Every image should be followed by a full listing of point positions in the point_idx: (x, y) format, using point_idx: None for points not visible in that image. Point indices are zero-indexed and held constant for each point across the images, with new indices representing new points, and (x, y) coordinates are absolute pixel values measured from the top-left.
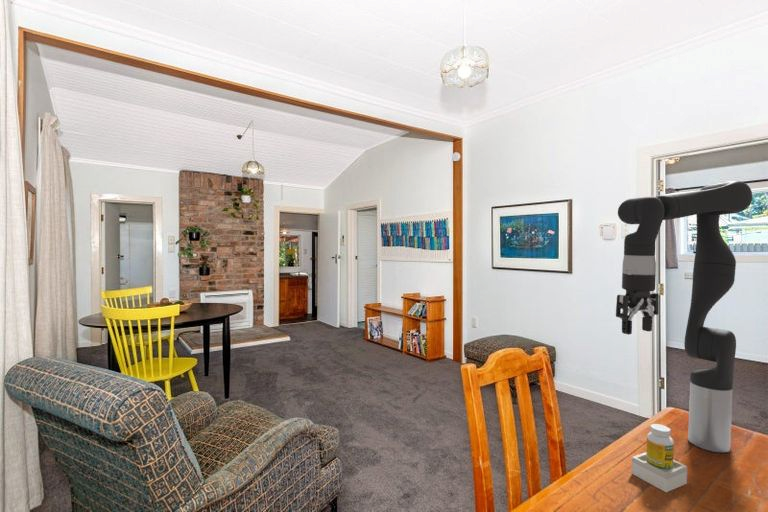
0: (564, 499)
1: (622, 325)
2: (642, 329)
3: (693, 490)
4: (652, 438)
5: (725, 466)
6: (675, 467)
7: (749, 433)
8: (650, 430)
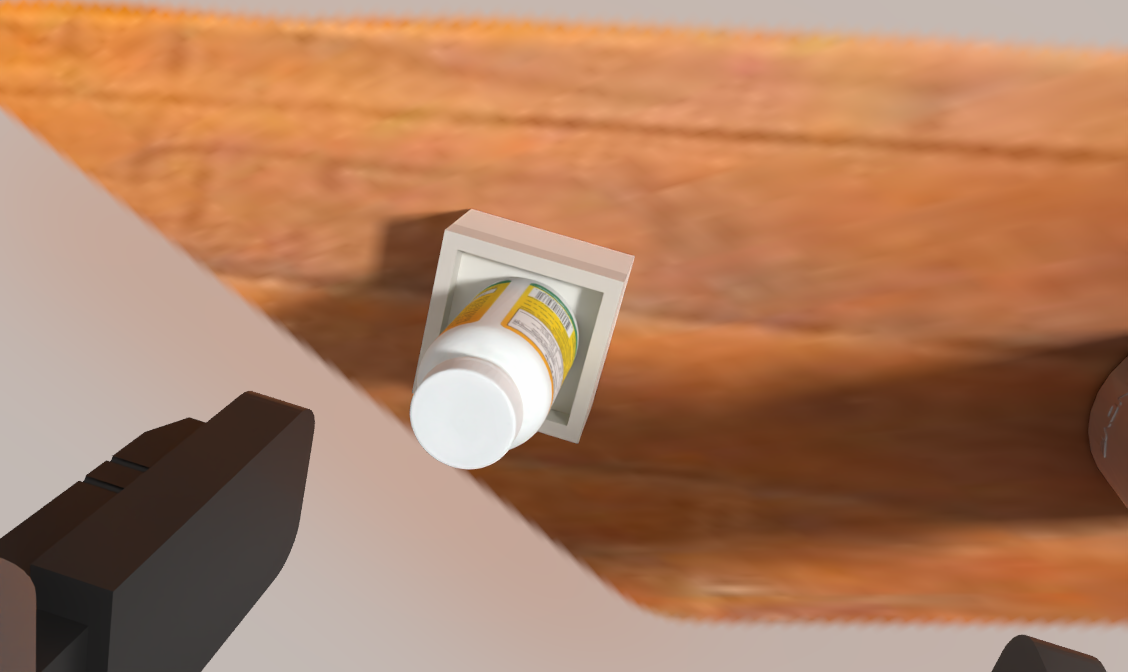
0: (19, 78)
1: (74, 500)
2: (1019, 636)
3: None
4: (422, 368)
5: (936, 508)
6: (576, 388)
7: None
8: (440, 363)
